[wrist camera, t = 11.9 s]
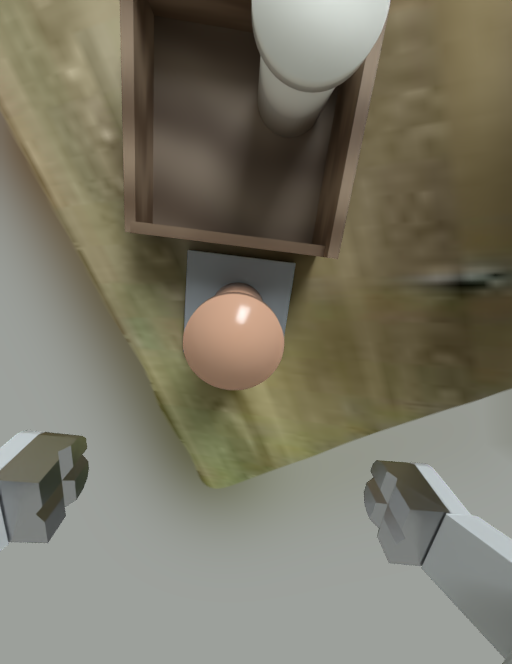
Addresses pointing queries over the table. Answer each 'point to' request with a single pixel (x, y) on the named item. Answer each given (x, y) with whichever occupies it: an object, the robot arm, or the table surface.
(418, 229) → the table surface
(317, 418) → the table surface
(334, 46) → the white glossy domed part
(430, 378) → the table surface
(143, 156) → the wooden tray
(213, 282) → the slate tile
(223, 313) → the peach mushroom knob
